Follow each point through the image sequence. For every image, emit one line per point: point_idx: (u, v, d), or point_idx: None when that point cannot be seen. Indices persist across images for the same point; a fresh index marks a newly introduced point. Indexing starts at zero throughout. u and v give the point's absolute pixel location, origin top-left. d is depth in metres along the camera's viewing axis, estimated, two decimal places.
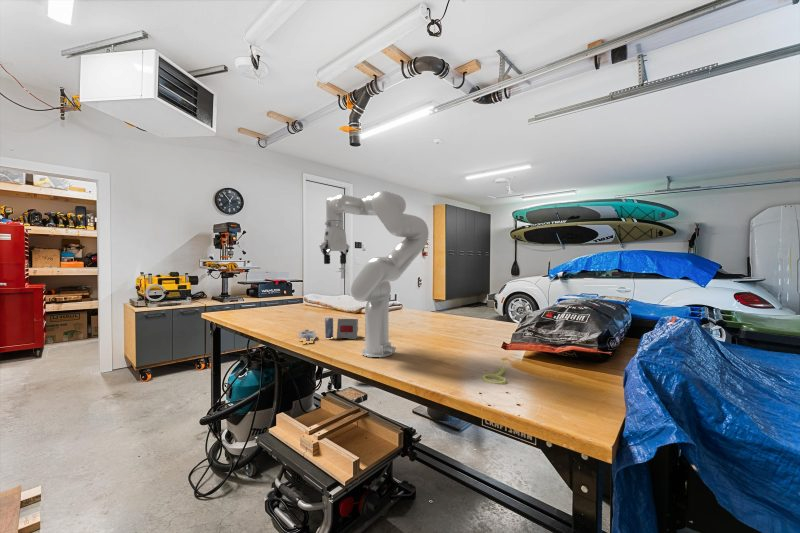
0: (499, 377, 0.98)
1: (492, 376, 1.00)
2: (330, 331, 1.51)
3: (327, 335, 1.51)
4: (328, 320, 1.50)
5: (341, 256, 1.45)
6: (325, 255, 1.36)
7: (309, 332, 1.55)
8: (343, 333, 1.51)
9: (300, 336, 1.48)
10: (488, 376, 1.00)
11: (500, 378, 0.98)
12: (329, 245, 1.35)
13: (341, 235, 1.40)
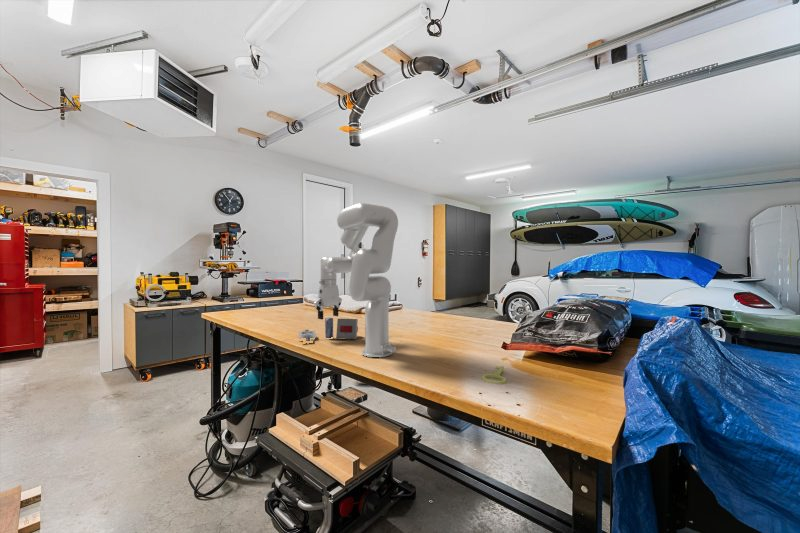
0: (498, 376, 0.99)
1: (491, 376, 1.00)
2: (330, 331, 1.51)
3: (327, 335, 1.51)
4: (328, 320, 1.50)
5: (334, 309, 1.57)
6: (319, 311, 1.48)
7: (309, 332, 1.55)
8: (342, 333, 1.50)
9: (300, 336, 1.48)
10: (487, 376, 1.00)
11: (499, 377, 0.98)
12: (323, 302, 1.47)
13: (334, 291, 1.52)
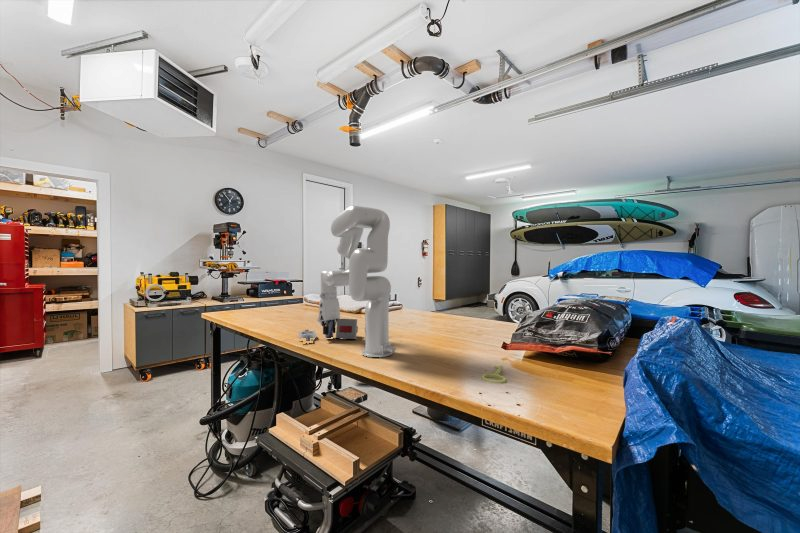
0: (498, 376, 0.99)
1: (491, 375, 1.00)
2: (330, 331, 1.51)
3: (327, 335, 1.51)
4: (328, 320, 1.50)
5: None
6: (324, 327, 1.49)
7: (309, 332, 1.55)
8: (342, 333, 1.50)
9: (300, 336, 1.48)
10: (487, 375, 1.00)
11: (499, 377, 0.99)
12: (323, 316, 1.47)
13: (334, 305, 1.52)
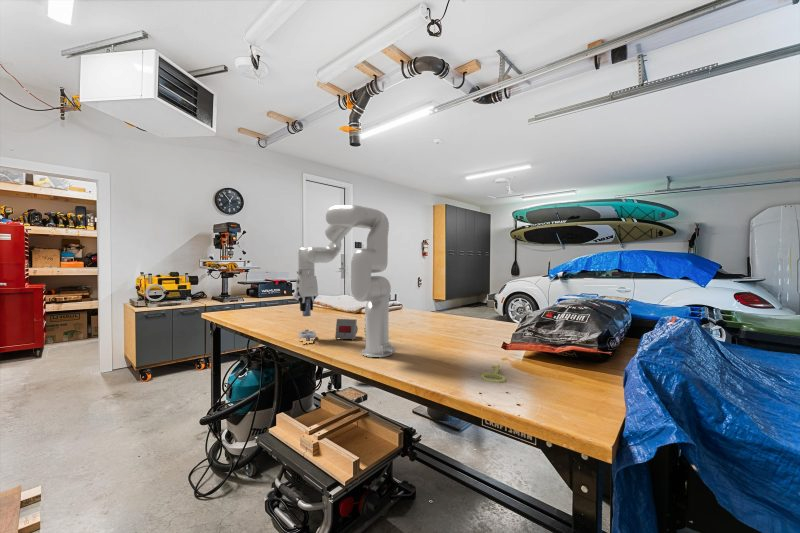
0: (497, 375, 1.00)
1: (490, 375, 1.01)
2: (307, 308, 1.51)
3: (304, 312, 1.51)
4: (305, 297, 1.51)
5: None
6: (301, 303, 1.50)
7: (309, 332, 1.55)
8: (341, 333, 1.50)
9: (300, 336, 1.48)
10: (486, 375, 1.01)
11: (498, 376, 0.99)
12: (300, 292, 1.47)
13: (312, 282, 1.52)
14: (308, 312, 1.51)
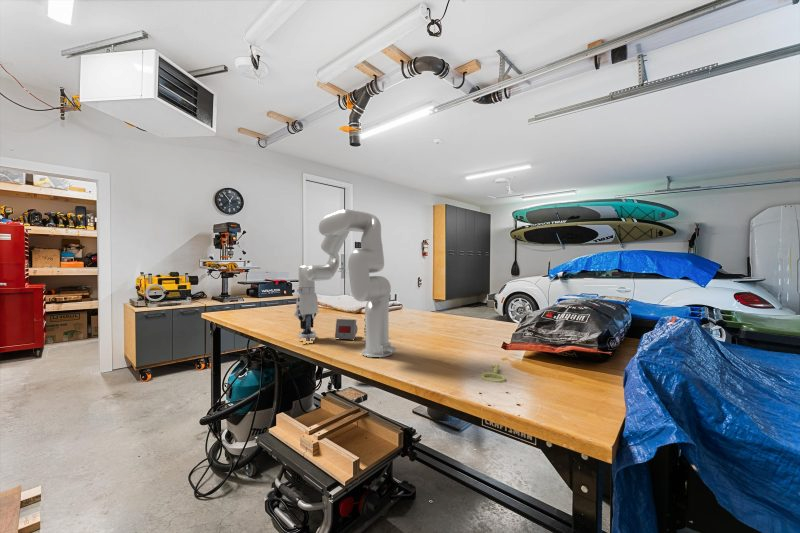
0: (497, 375, 1.00)
1: (489, 375, 1.01)
2: (307, 325, 1.51)
3: (304, 329, 1.51)
4: None
5: None
6: (301, 321, 1.50)
7: None
8: (341, 333, 1.50)
9: (300, 336, 1.48)
10: (486, 375, 1.01)
11: (498, 376, 1.00)
12: (300, 311, 1.47)
13: (312, 299, 1.52)
14: (308, 330, 1.51)
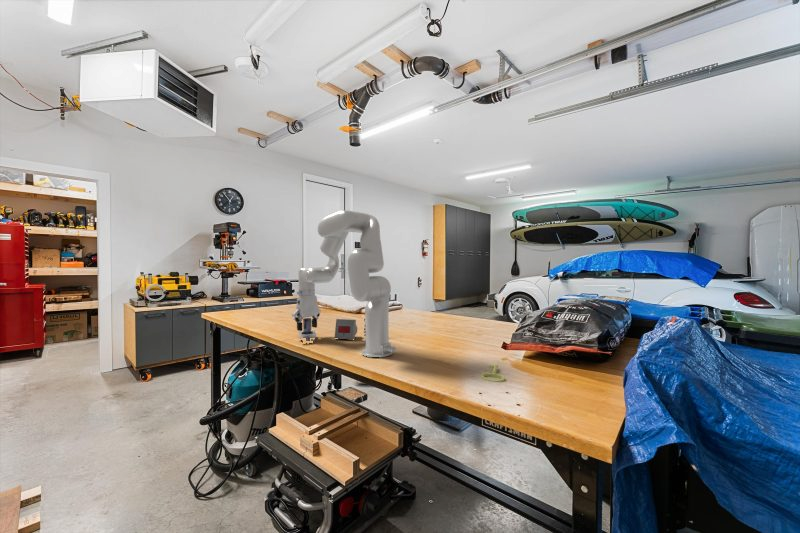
0: (496, 375, 1.00)
1: (489, 374, 1.01)
2: (308, 331, 1.51)
3: None
4: (306, 320, 1.51)
5: (312, 320, 1.56)
6: (298, 323, 1.48)
7: None
8: (341, 334, 1.50)
9: (300, 336, 1.48)
10: (485, 375, 1.01)
11: (497, 376, 1.00)
12: (300, 313, 1.47)
13: (312, 302, 1.52)
14: None
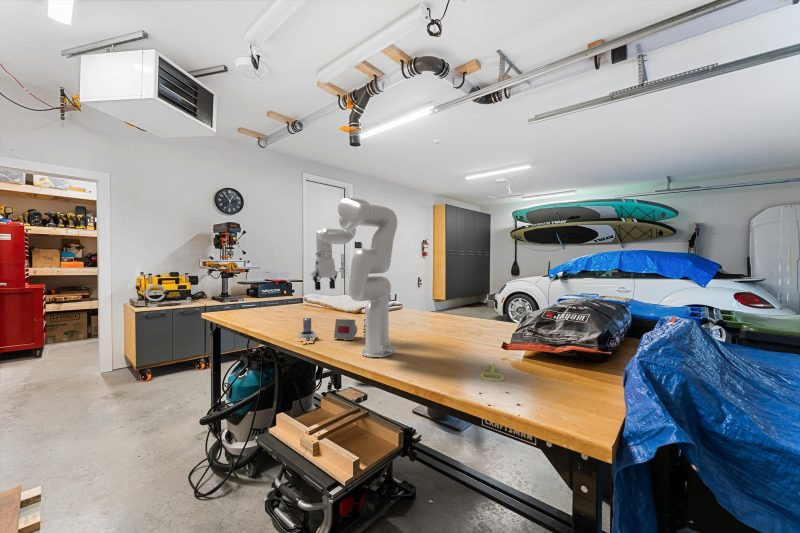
0: (495, 374, 1.01)
1: (488, 374, 1.01)
2: (308, 331, 1.51)
3: None
4: (306, 320, 1.51)
5: (330, 282, 1.61)
6: (316, 282, 1.52)
7: None
8: (340, 334, 1.49)
9: (300, 336, 1.48)
10: (484, 374, 1.01)
11: (497, 375, 1.00)
12: (319, 273, 1.52)
13: (330, 263, 1.56)
14: None
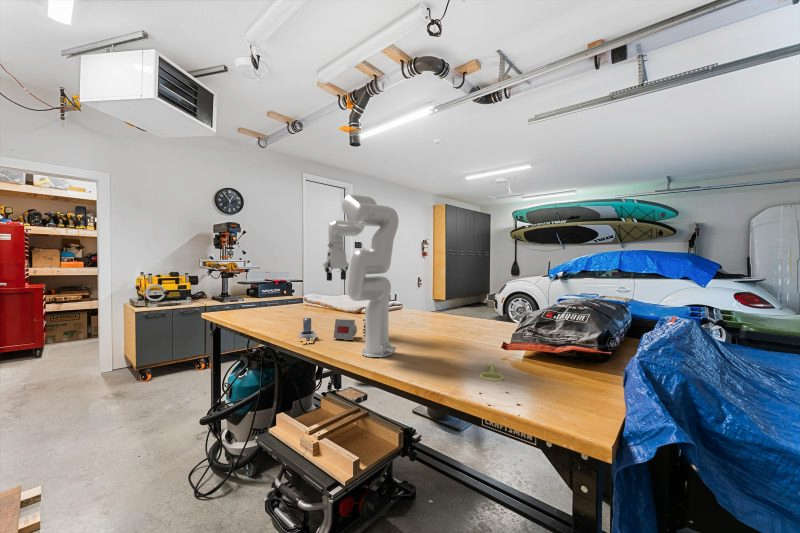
0: (495, 374, 1.01)
1: (488, 374, 1.02)
2: (308, 331, 1.51)
3: None
4: (306, 320, 1.51)
5: (341, 273, 1.64)
6: (328, 273, 1.55)
7: None
8: (339, 334, 1.49)
9: (300, 336, 1.48)
10: (484, 374, 1.02)
11: (496, 375, 1.01)
12: (331, 264, 1.55)
13: (341, 255, 1.60)
14: None
